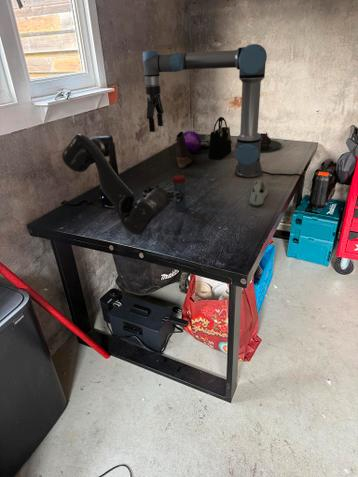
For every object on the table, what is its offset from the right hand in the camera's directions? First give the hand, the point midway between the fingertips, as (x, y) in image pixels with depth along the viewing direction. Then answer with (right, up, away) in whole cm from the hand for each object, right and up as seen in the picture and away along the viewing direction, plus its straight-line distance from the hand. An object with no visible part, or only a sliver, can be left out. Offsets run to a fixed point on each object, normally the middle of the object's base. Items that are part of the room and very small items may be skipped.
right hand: (156, 128), depth 177 cm
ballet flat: (+51, -39, -17) cm, 67 cm away
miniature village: (+69, +8, +62) cm, 93 cm away
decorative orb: (+20, +1, +56) cm, 60 cm away
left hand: (+8, -40, -50) cm, 65 cm away
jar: (+13, -46, -25) cm, 54 cm away
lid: (+12, -32, -32) cm, 47 cm away
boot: (+16, -10, +36) cm, 41 cm away
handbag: (+40, -3, +47) cm, 62 cm away
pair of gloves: (+35, +13, +76) cm, 84 cm away
